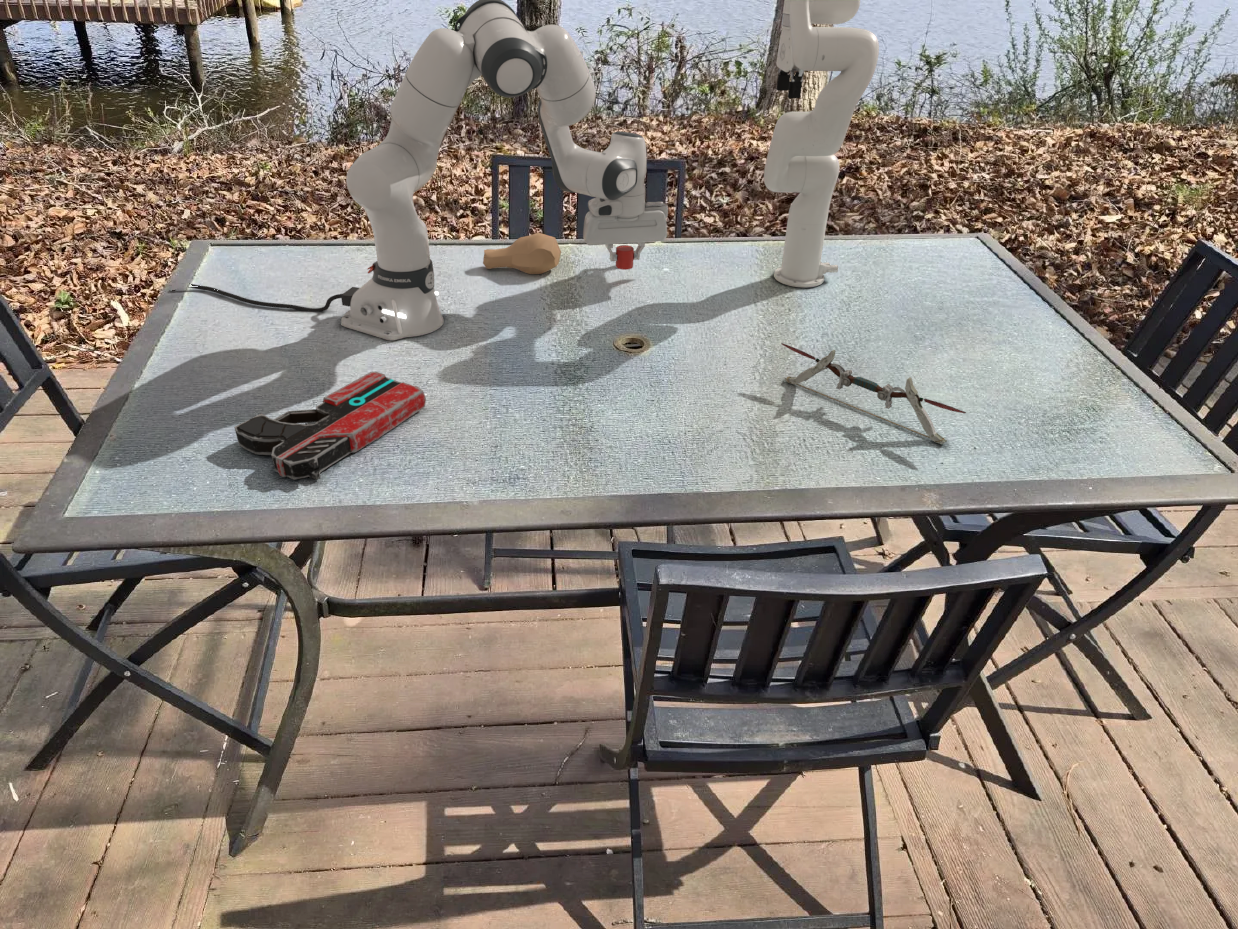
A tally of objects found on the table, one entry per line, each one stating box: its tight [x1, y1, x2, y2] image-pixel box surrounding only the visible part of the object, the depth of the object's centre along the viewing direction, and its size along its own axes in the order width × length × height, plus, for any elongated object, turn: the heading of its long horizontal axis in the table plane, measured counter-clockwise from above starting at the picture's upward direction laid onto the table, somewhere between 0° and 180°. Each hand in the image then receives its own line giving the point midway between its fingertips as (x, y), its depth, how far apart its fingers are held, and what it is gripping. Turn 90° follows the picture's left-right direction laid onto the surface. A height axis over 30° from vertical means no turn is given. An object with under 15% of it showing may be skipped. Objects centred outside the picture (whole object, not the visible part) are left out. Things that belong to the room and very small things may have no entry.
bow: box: [780, 342, 967, 445], centre depth 165 cm, size 39×2×10 cm, turn 47°
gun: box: [234, 371, 427, 481], centre depth 156 cm, size 4×31×19 cm
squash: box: [482, 232, 562, 275], centre depth 222 cm, size 11×20×9 cm, turn 90°
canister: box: [615, 244, 635, 271], centre depth 214 cm, size 4×4×5 cm
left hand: (624, 259), depth 214 cm, fingers closed on canister, 4 cm apart
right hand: (788, 93), depth 230 cm, fingers open, 9 cm apart
